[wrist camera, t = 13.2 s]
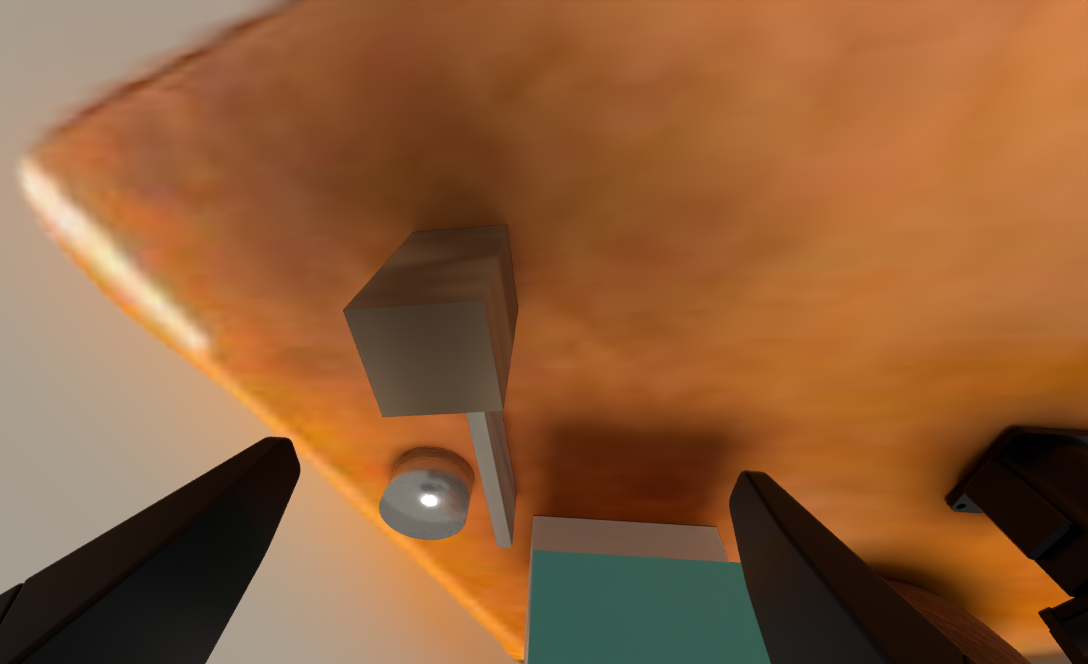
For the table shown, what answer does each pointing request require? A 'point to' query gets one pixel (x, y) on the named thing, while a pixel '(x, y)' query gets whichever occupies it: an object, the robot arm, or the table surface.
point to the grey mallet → (446, 343)
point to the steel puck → (428, 494)
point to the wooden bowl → (960, 626)
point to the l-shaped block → (636, 596)
